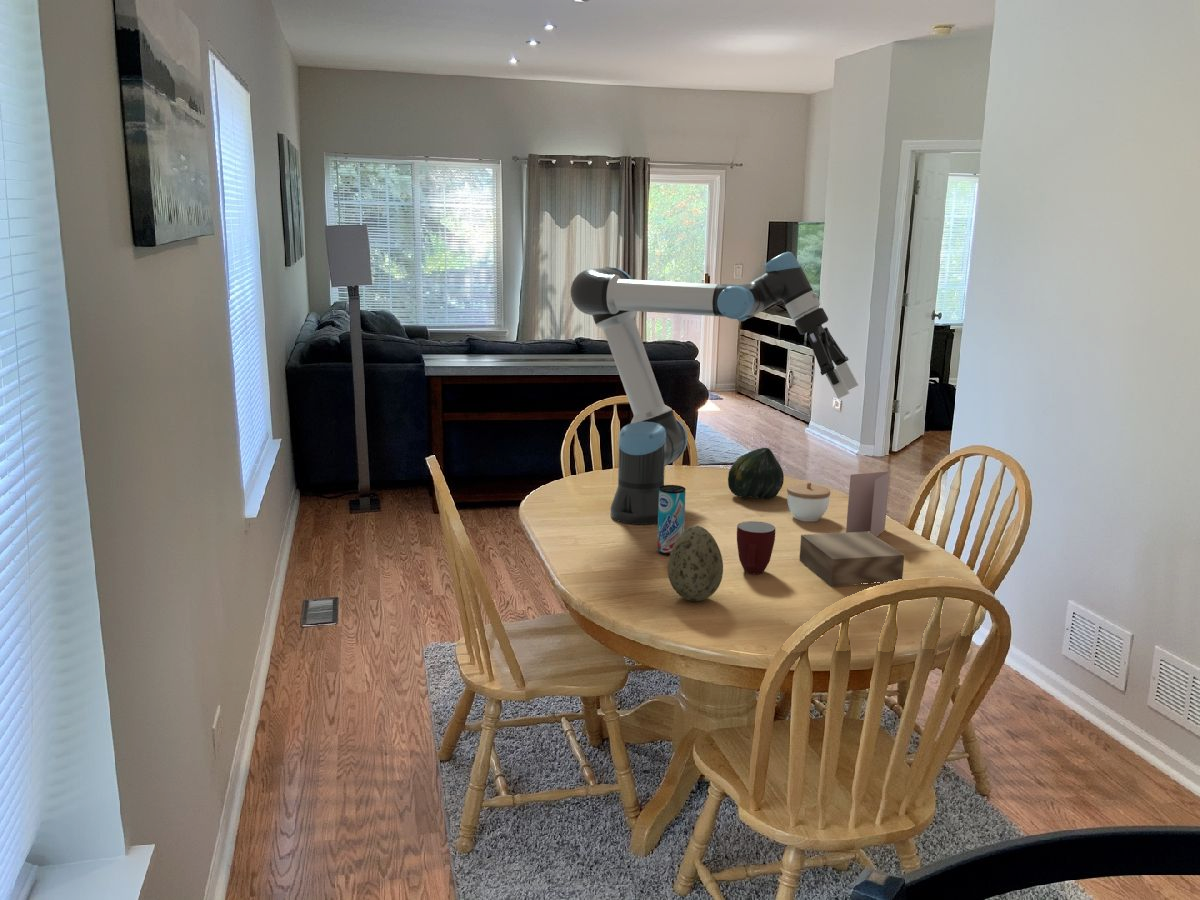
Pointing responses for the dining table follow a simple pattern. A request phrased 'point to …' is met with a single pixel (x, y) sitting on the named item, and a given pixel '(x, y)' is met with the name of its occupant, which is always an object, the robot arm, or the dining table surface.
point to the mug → (755, 545)
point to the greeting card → (867, 502)
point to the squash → (756, 475)
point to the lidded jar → (807, 501)
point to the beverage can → (670, 517)
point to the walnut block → (851, 558)
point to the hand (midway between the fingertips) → (848, 391)
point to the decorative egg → (695, 564)
